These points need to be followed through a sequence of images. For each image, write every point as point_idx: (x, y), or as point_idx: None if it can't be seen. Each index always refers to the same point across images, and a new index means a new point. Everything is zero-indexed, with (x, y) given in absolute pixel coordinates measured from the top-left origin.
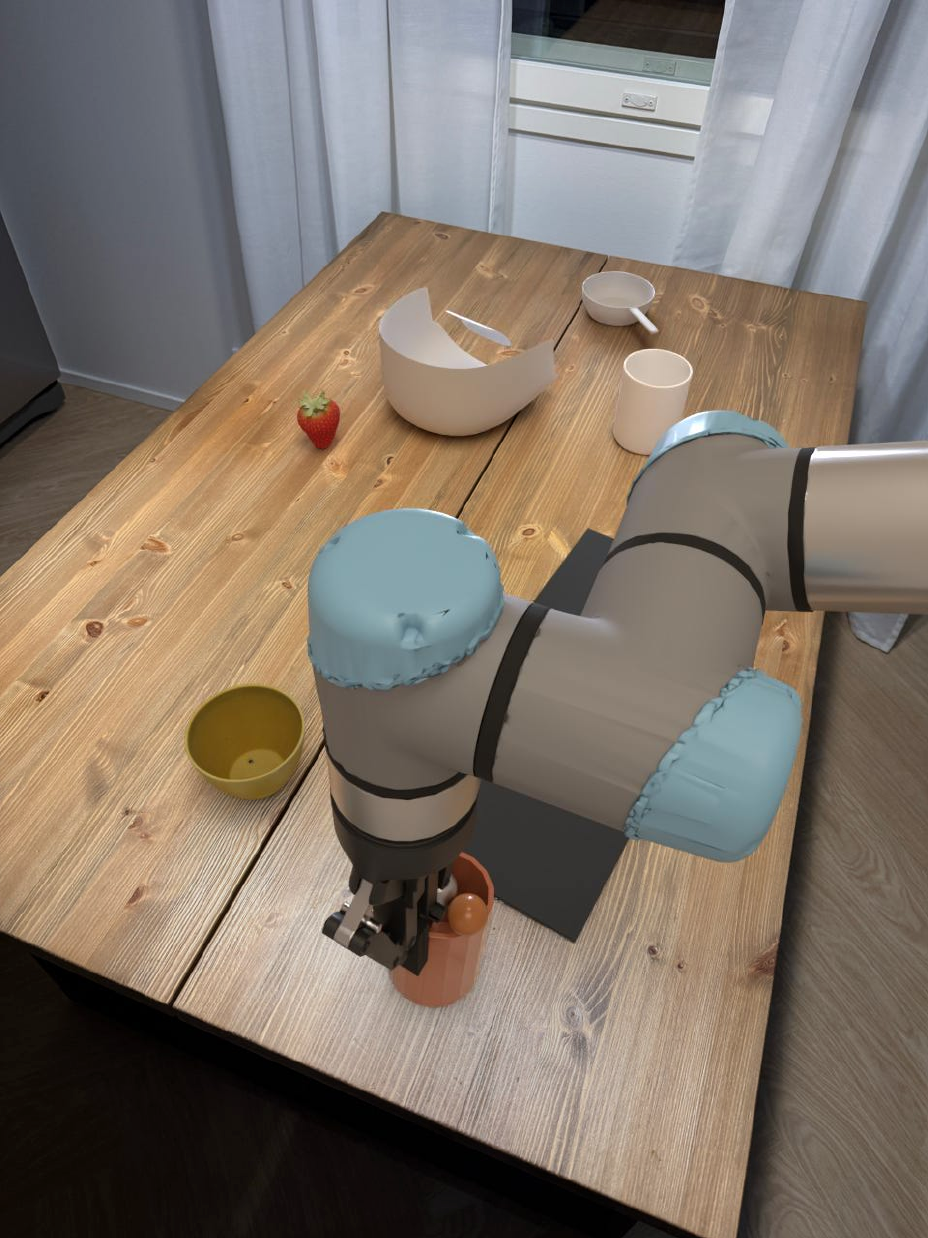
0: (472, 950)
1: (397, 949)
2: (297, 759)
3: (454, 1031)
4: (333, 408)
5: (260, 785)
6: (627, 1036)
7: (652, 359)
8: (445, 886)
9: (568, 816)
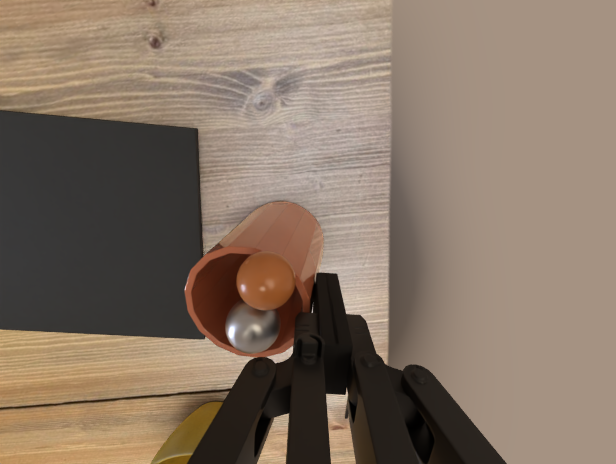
0: (281, 234)
1: (431, 414)
2: (193, 435)
3: (325, 199)
4: None
5: None
6: (254, 38)
7: None
8: (267, 364)
9: (77, 188)
